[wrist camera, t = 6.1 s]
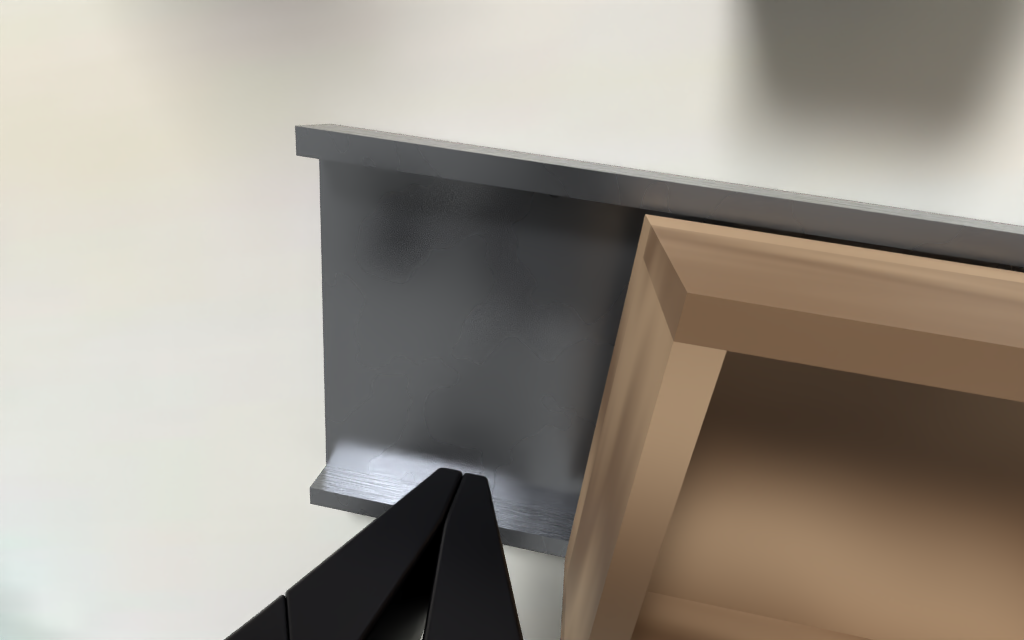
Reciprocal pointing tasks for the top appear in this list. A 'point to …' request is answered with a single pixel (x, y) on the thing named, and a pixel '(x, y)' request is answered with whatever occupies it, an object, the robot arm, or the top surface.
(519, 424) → the track
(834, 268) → the wooden drawer
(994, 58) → the top surface
